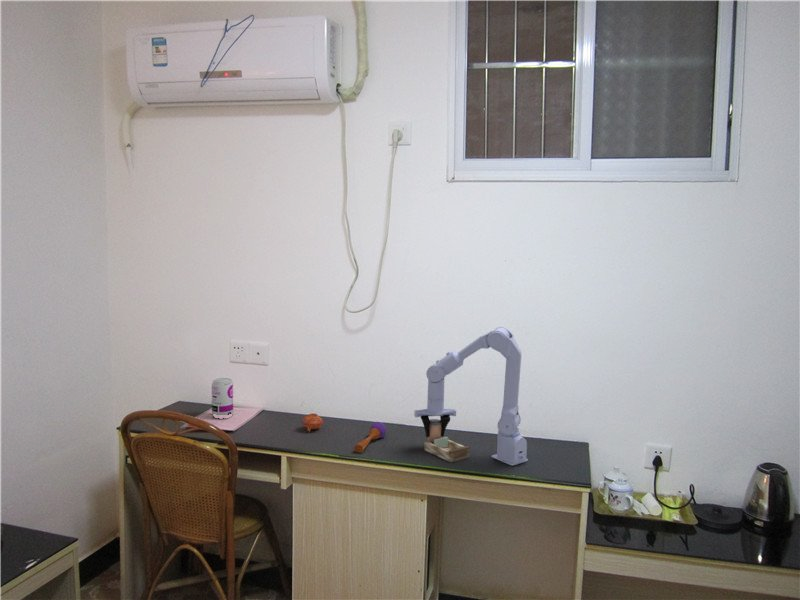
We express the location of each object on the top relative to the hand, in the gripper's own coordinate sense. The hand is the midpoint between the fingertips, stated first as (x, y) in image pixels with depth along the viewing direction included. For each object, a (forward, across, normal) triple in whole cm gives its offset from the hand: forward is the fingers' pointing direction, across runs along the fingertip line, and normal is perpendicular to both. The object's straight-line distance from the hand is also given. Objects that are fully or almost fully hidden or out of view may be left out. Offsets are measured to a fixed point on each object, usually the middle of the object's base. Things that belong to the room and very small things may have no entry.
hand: (434, 436), depth 204 cm
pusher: (+3, +2, -3) cm, 5 cm away
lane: (+4, +3, -6) cm, 8 cm away
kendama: (+5, -22, +7) cm, 23 cm away
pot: (+5, -42, +24) cm, 48 cm away
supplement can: (+5, -76, +45) cm, 89 cm away
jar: (+2, 0, 0) cm, 2 cm away
